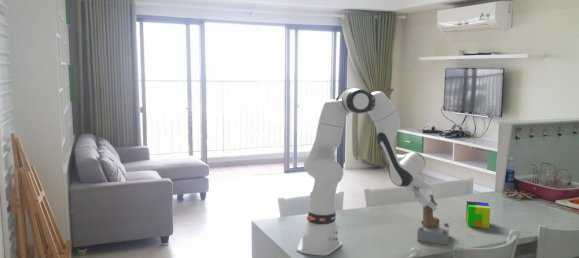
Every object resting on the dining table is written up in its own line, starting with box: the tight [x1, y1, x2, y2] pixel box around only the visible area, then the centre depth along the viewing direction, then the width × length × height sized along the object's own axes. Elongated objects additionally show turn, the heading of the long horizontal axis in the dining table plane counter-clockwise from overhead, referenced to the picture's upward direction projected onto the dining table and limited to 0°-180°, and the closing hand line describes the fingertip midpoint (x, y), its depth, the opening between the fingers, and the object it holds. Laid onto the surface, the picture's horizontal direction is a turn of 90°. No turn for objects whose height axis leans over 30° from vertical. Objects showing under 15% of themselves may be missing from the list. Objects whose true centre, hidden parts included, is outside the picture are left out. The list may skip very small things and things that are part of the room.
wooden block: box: [422, 194, 440, 228], centre depth 221 cm, size 7×3×15 cm, turn 101°
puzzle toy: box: [465, 200, 491, 229], centre depth 241 cm, size 10×10×10 cm
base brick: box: [416, 219, 450, 246], centre depth 220 cm, size 13×13×6 cm
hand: (436, 207), depth 219 cm, fingers open, 5 cm apart
